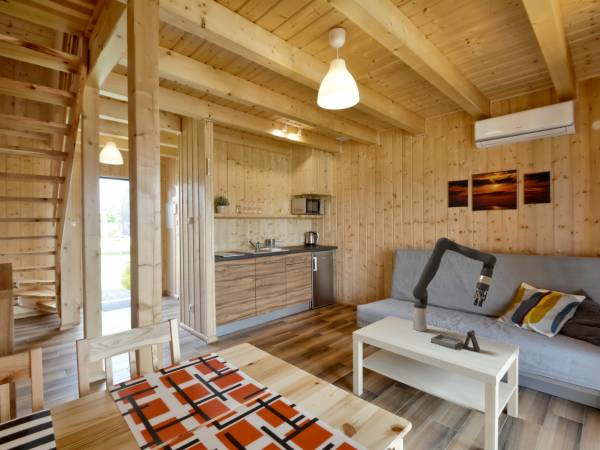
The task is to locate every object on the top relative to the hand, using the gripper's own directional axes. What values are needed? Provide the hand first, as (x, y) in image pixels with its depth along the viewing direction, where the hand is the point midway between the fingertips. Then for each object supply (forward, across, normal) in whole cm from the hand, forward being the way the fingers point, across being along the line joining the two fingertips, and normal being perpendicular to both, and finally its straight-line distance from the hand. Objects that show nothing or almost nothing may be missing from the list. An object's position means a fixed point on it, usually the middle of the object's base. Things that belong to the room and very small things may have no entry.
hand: (477, 306), depth 211 cm
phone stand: (+28, +6, +1) cm, 29 cm away
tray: (+31, -2, -11) cm, 33 cm away
